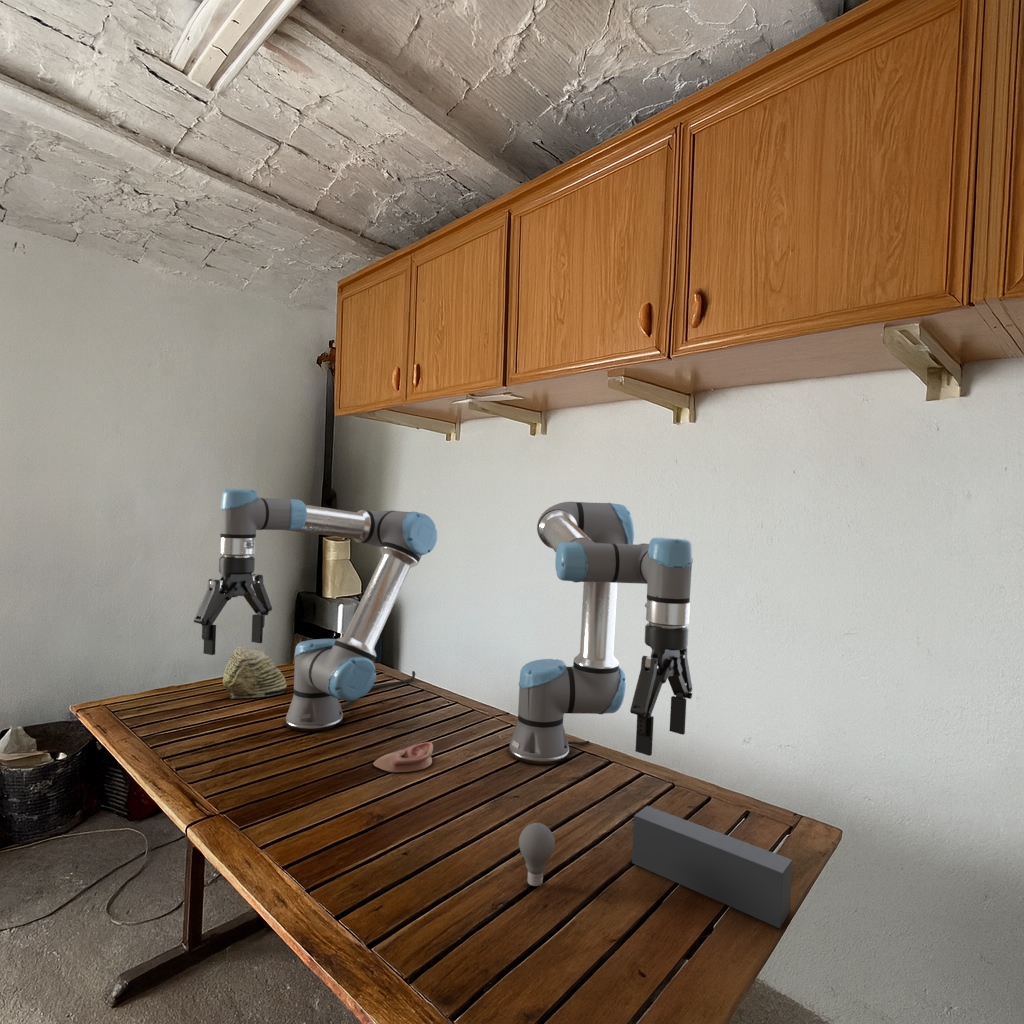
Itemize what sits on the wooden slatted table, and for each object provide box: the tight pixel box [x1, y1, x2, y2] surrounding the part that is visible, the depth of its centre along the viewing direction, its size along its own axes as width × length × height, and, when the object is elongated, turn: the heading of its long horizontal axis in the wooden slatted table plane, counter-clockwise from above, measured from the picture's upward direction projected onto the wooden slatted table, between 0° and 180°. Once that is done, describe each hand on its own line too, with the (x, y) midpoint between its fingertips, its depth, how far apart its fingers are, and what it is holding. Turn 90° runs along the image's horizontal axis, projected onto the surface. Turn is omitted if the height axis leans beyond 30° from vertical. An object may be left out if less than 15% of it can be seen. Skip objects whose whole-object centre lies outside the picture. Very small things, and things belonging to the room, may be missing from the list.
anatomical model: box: [372, 741, 434, 773], centre depth 152 cm, size 13×4×12 cm
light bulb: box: [518, 822, 556, 887], centre depth 106 cm, size 6×6×10 cm
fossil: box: [222, 646, 288, 699], centre depth 198 cm, size 9×18×15 cm, turn 132°
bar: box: [631, 805, 793, 929], centre depth 108 cm, size 26×5×9 cm, turn 51°
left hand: (234, 648), depth 146 cm, fingers open, 13 cm apart
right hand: (661, 742), depth 113 cm, fingers open, 13 cm apart
